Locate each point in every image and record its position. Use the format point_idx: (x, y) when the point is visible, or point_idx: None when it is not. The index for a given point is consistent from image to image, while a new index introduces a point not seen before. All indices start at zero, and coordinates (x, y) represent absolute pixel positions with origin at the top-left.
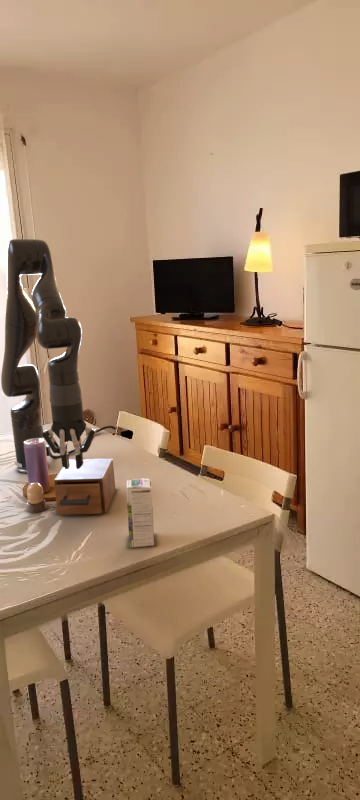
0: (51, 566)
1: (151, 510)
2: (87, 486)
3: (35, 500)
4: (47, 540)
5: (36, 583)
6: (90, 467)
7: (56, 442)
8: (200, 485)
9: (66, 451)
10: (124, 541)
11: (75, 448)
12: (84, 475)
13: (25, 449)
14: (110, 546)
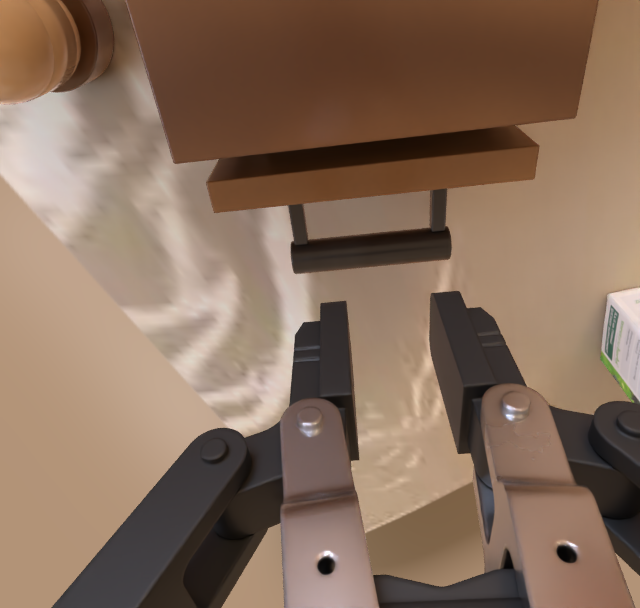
0: (370, 442)
1: None
2: (449, 187)
3: (58, 87)
4: (295, 328)
5: (360, 493)
6: None
7: (196, 535)
8: None
9: (348, 448)
10: (581, 319)
11: (491, 530)
12: (403, 46)
13: None
14: (531, 350)
